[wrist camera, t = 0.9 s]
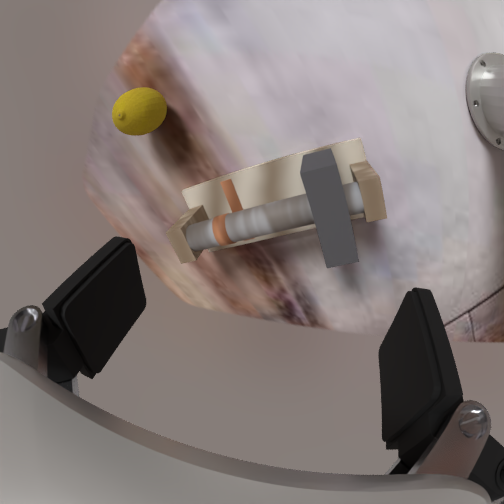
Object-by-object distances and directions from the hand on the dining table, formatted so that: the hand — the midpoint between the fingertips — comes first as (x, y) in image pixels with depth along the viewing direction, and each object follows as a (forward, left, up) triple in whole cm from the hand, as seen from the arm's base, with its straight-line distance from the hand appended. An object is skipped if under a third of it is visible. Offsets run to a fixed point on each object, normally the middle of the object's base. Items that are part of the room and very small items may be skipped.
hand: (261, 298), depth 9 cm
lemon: (+14, -11, -25) cm, 31 cm away
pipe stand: (+4, +4, -25) cm, 25 cm away
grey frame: (-2, +4, -22) cm, 23 cm away
